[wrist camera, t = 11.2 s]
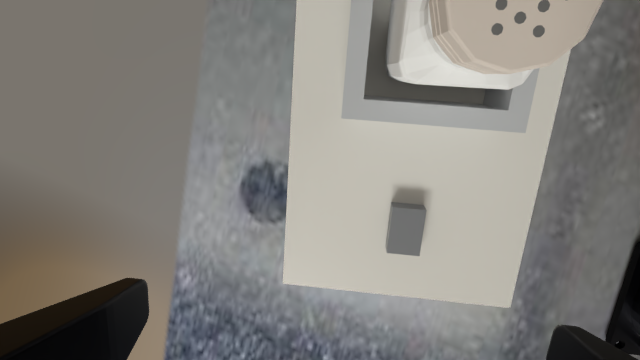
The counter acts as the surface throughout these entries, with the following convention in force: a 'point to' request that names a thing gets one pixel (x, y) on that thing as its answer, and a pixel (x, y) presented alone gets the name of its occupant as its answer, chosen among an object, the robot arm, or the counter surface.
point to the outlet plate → (406, 167)
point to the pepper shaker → (481, 39)
